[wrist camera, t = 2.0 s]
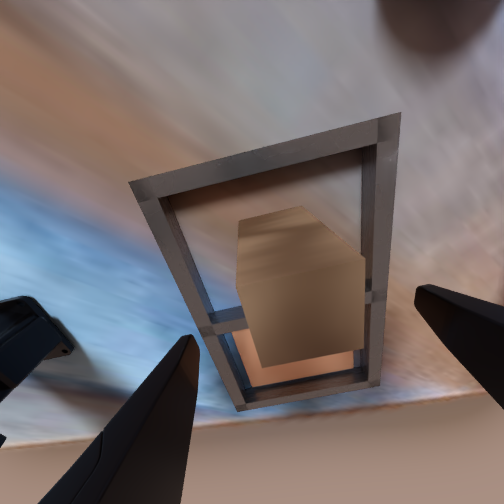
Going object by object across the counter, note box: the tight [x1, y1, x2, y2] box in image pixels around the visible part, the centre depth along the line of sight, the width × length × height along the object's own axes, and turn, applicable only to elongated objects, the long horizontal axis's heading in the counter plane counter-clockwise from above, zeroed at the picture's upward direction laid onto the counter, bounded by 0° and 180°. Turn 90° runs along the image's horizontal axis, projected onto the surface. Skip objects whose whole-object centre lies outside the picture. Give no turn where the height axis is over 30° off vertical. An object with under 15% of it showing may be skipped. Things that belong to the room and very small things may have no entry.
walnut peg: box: [236, 206, 365, 368], centre depth 11 cm, size 4×4×8 cm
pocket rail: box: [128, 112, 401, 412], centre depth 17 cm, size 15×24×2 cm, turn 13°
